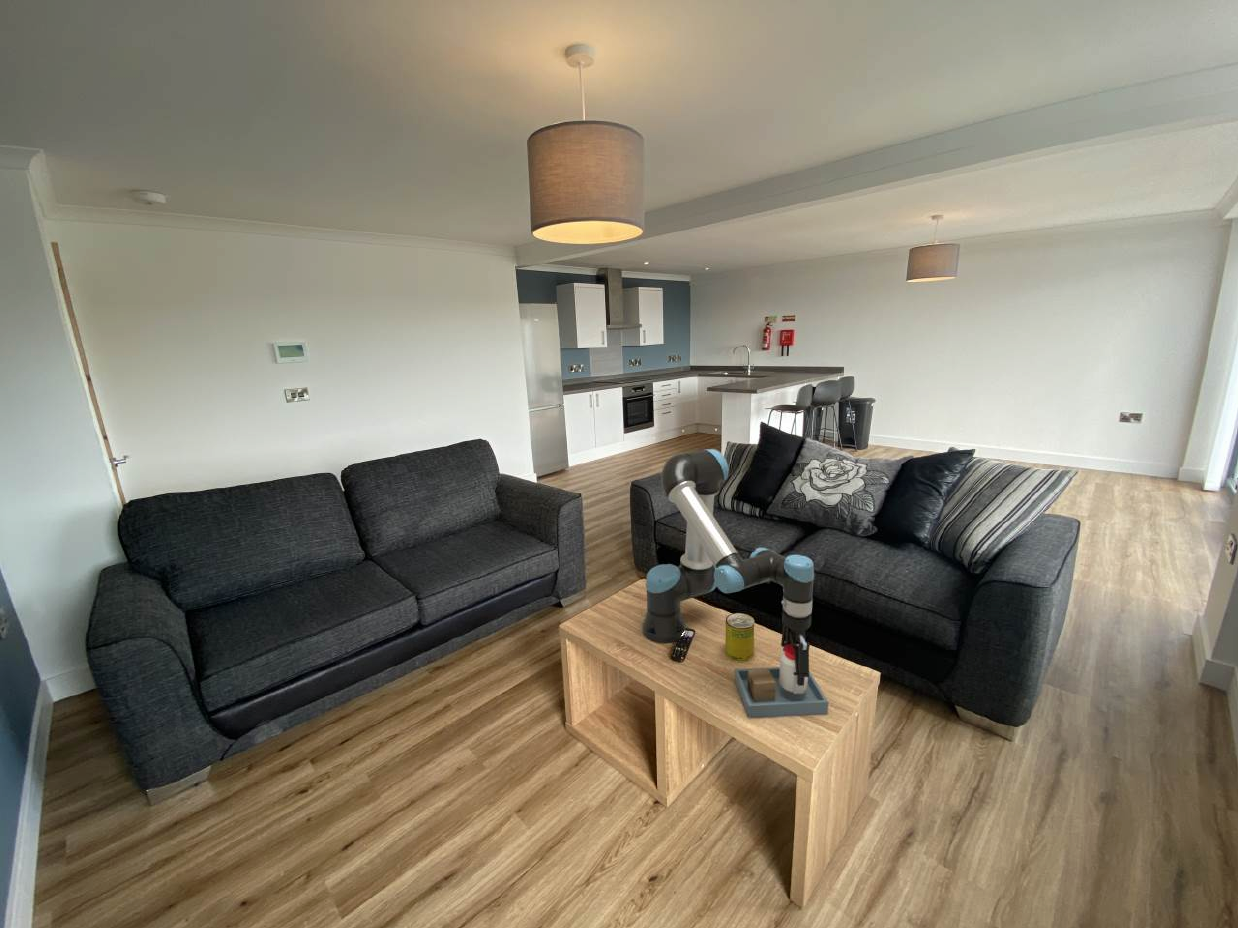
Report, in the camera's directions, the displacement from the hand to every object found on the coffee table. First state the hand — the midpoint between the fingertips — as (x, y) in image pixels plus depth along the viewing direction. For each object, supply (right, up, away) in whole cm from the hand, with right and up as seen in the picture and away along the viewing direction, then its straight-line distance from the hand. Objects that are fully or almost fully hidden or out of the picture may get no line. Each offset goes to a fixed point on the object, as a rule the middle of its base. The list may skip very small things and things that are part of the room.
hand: (793, 682), depth 145 cm
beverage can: (-10, 0, +21) cm, 24 cm away
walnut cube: (-9, -4, +1) cm, 10 cm away
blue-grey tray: (-4, -4, +1) cm, 6 cm away
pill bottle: (0, -1, 0) cm, 0 cm away
